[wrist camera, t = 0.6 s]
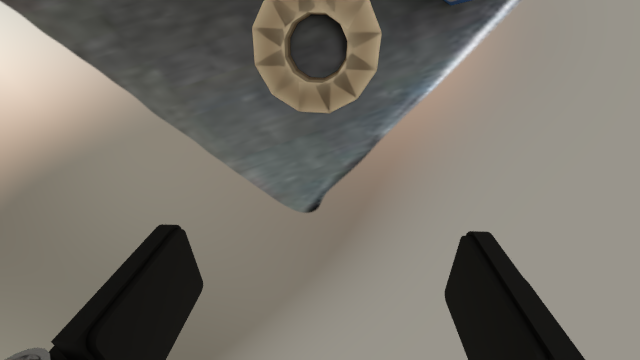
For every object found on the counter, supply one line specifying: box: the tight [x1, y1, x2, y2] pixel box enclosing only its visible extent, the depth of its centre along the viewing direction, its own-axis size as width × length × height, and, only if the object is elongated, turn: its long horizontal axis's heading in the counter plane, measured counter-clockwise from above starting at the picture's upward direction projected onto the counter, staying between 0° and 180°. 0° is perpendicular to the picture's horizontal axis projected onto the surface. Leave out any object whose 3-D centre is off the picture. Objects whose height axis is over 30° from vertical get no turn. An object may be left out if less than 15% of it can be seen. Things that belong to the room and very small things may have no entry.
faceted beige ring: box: [252, 0, 381, 113], centre depth 32 cm, size 14×14×4 cm
